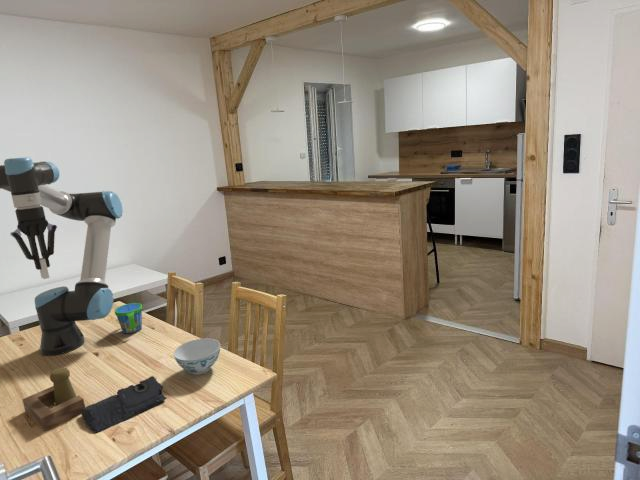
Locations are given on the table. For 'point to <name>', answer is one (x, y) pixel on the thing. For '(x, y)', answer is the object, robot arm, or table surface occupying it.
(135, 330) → the snack cup
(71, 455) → the table surface
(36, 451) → the table surface
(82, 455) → the table surface
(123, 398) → the dark slate chunk
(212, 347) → the chinaware
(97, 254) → the robot arm
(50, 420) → the walnut pocket
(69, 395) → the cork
